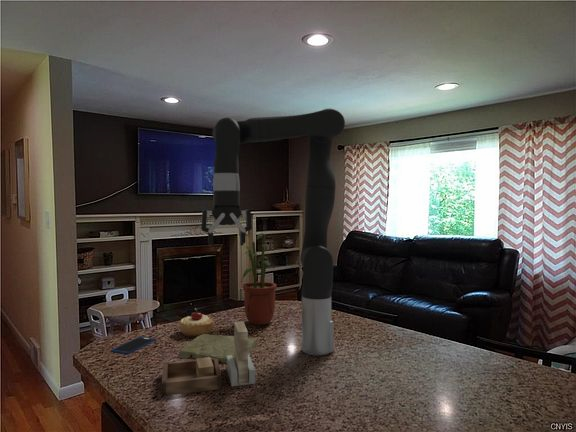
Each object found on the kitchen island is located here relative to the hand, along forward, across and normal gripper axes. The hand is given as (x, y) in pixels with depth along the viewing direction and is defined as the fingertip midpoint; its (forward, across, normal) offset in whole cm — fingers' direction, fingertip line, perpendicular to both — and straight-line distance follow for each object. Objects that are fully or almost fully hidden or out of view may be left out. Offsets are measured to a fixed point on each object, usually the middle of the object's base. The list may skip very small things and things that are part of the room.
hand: (226, 245), depth 114 cm
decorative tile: (+35, +2, -8) cm, 36 cm away
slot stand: (+34, -2, +12) cm, 36 cm away
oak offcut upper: (+31, +7, +12) cm, 34 cm away
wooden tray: (+34, +10, +12) cm, 38 cm away
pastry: (+34, +8, -30) cm, 46 cm away
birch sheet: (+33, -2, +12) cm, 35 cm away
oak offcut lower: (+33, +7, +12) cm, 36 cm away
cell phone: (+35, +28, -22) cm, 50 cm away
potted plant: (+34, -14, -36) cm, 52 cm away
